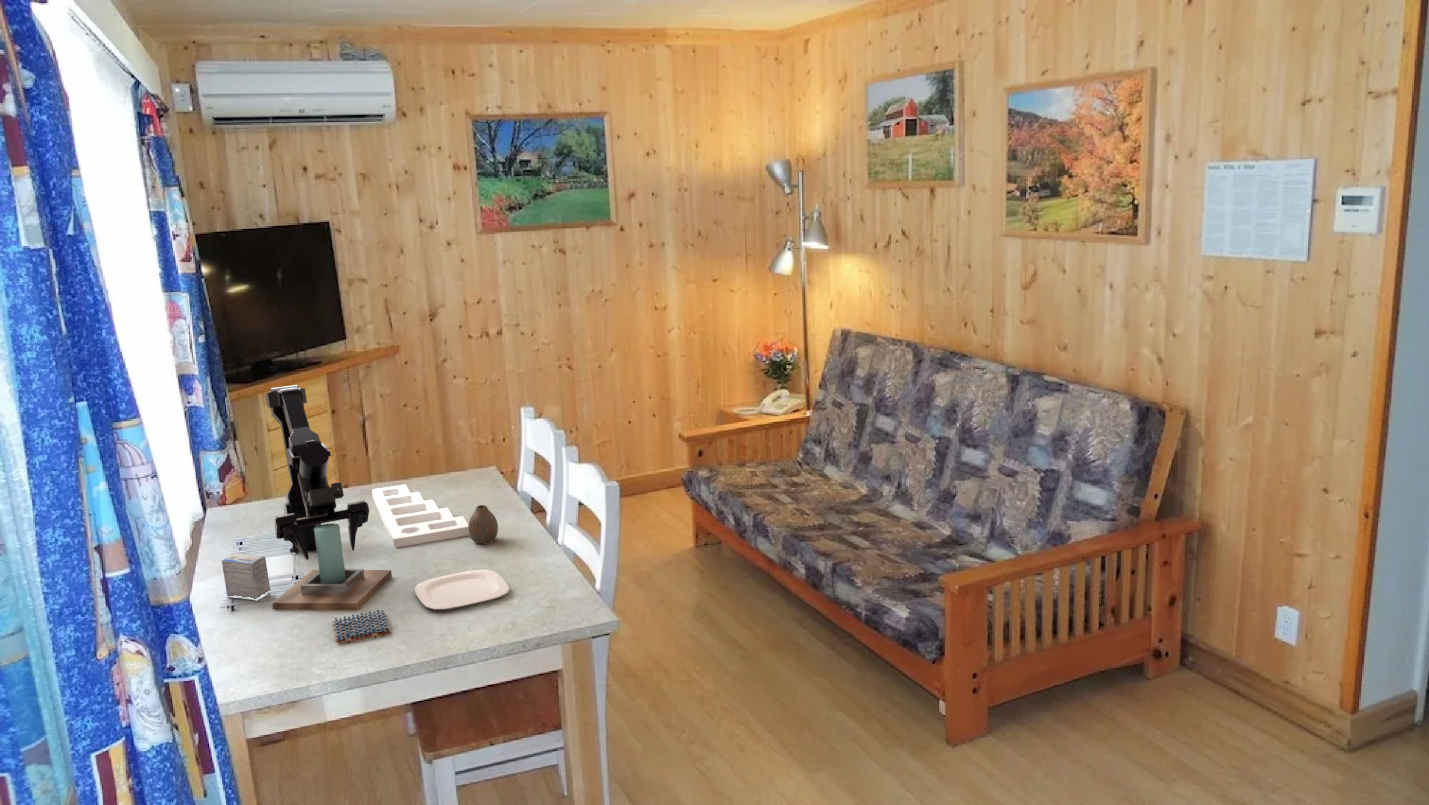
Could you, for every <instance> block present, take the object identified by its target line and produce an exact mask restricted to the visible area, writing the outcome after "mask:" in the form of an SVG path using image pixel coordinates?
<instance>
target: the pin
mask: <svg viewBox="0 0 1429 805" xmlns="http://www.w3.org/2000/svg"><path fill="white" fill-rule="evenodd" d="M340 528H341V527H340V524H338V523H322V524H321V525H320V526H317V527H315V528H314V533H315V541H316V548H317V550H316V556H317V564H318V570H319V572H320V580H321V584H342V583H344V582H345V581H346V577H345V569H346V568H345V563H344V562H345V561H344V556H343V555H344V553H343V546H342V538H341V537H342V536H341V529H340Z"/></svg>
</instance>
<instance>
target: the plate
mask: <svg viewBox="0 0 1429 805" xmlns="http://www.w3.org/2000/svg"><path fill="white" fill-rule="evenodd" d="M510 589H511V588H510V586H509V584H508V583H507V582H506V580H505V579H504V578H503V577H502V575H500V573H499V574H498V572H496V571H493V570H490V569H472V570H466V571H462V572H456V573H451V574H445V575H442V576H438V577H434V578H429V579H425V580H424V581H422V582H418V584H417V585H416V586H415V588H414V593H415V596H416V597H417V599H418V600H419V602H420V603H421V604H422V605H423V606H424V607H425V608H426V609H429V610H433V611H447V610H455V609H460V608H466V607H470V606H474V605H479V604H483V603H486V602H490V601H496V600H497V599H500V598H502V597H504V596H506V595H508V593H509V592H510Z"/></svg>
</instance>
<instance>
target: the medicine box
mask: <svg viewBox="0 0 1429 805" xmlns="http://www.w3.org/2000/svg"><path fill="white" fill-rule="evenodd" d="M221 565H222V570H223V572H222V573H223V576H224V578H223V579H224V584H225V591H226V597H227V596H234V595H236V596H242V597H251V598H254V599H256V598H258V597H260V596H261V595H262V594H265V593H266V592H268V591H271V586H270V579H269V578H270V577H269V572H268V566H267V559H266V556H264V555H258V554H250V553H249V554H247V553H234V554H232V555H230V556H228V557H225V558H223V560H221ZM271 592H272V591H271Z"/></svg>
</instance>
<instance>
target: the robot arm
mask: <svg viewBox="0 0 1429 805" xmlns="http://www.w3.org/2000/svg"><path fill="white" fill-rule="evenodd" d="M306 393H307V391H306V388H305V387H301V388H300V387H299V386H298V384H293V385H287V386H286V385H285V386H277V387H271V388H270V389H269V392H266V393H265V402H266V406H267V408H268V409H270V413H271V416H272V418H274V420H275V421H276V422H277V423H278V424H279V425H280V428H281V429H280V430H281V436H282V440H283V447H284V451H285V458H286V464H287V470H288V475H289V481H290V487H289V489H288V492H287V494H286V496H285V499H286V502H285V503H284V510H283V514H280V515H277V516H276V517H275V518H274V531H275V536H276V539H279V540H281V539H283V541H284V542H290V543H291V544H292V546H291V547H290V548H289V552H300V553H301V555H302V556H303V558H304V559H305V560H306V561H308V560H310V559H309V558H310V557H309V552H317V548H316V541H315V533H314V528H315V527H317V526H320V525H322V524H328V523H331V522H332V523H333V522H336V521H342V520H347V523H348V526H347V528H348V529H347V530H348V537H349V542H350V548H351V551H352V552H353V551H355V546H356V537H357V533H358V528H361V527H363V524H365V523H367V522H368V521H369V516H370V515H369V514H370V508H369V503H368V502H366V500H360V501H359V500H358V501H352V502H347V507H346V508H347V509H343V510H337V511H336V509H337V503H336V500H337V499H338V500H339V499H343V497H344V490H343V485H342V482H341V481H339V482H333V483H332V484H331V486H330V485H329V482H328V476H327V475H328V472H329V462H330V461H329V460H330V459H329V458H330V457H331V456H332V455H331V450H330V449H329V448H328V447H327V446H326V445H325V443H324V442H322V441H321V439H320V436H319V434H318V433H317V432H315V431H313V430H312V429H311V427H310V423H309V421H308V417H307V414H306V411H305V404H307V403H308V399H307V394H306Z"/></svg>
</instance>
